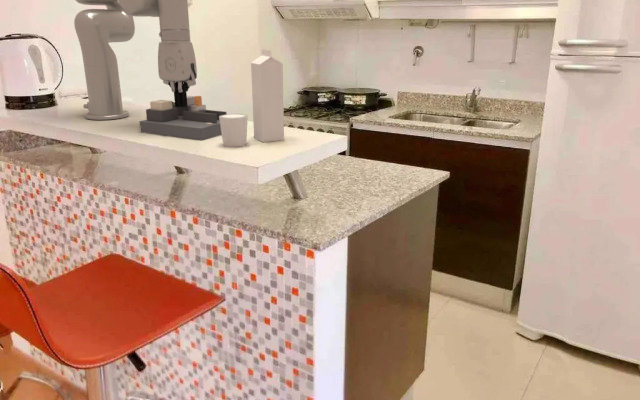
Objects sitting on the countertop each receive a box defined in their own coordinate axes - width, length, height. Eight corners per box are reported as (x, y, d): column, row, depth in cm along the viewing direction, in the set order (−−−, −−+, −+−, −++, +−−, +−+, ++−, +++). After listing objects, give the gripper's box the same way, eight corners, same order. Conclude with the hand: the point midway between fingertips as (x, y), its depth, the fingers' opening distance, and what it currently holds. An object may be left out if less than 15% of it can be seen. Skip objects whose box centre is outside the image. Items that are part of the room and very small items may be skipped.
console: (140, 132, 144) (138, 110, 142) (188, 121, 160) (186, 100, 158) (201, 140, 134) (199, 116, 132) (245, 127, 150) (244, 106, 148)
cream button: (151, 114, 143) (149, 101, 142) (161, 112, 147) (160, 99, 146) (162, 116, 142) (161, 102, 141) (173, 113, 145) (171, 100, 144)
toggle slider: (191, 119, 144) (190, 96, 142) (199, 117, 147) (197, 95, 145) (199, 119, 143) (197, 97, 141) (206, 118, 146) (205, 95, 144)
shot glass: (251, 141, 133) (250, 113, 131) (245, 147, 127) (244, 118, 125) (224, 140, 134) (223, 113, 132) (217, 147, 127) (215, 117, 125)
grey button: (177, 109, 152) (176, 97, 151) (186, 107, 155) (185, 95, 154) (187, 110, 150) (187, 98, 149) (197, 108, 153) (196, 96, 152)
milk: (275, 136, 140) (273, 48, 133) (284, 140, 135) (283, 49, 128) (253, 138, 137) (250, 49, 130) (261, 142, 132) (259, 50, 125)
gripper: (144, 36, 141) (151, 106, 147) (187, 37, 134) (193, 110, 140) (164, 36, 147) (170, 102, 153) (207, 36, 141) (211, 106, 147)
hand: (181, 106), depth 147 cm, fingers closed
